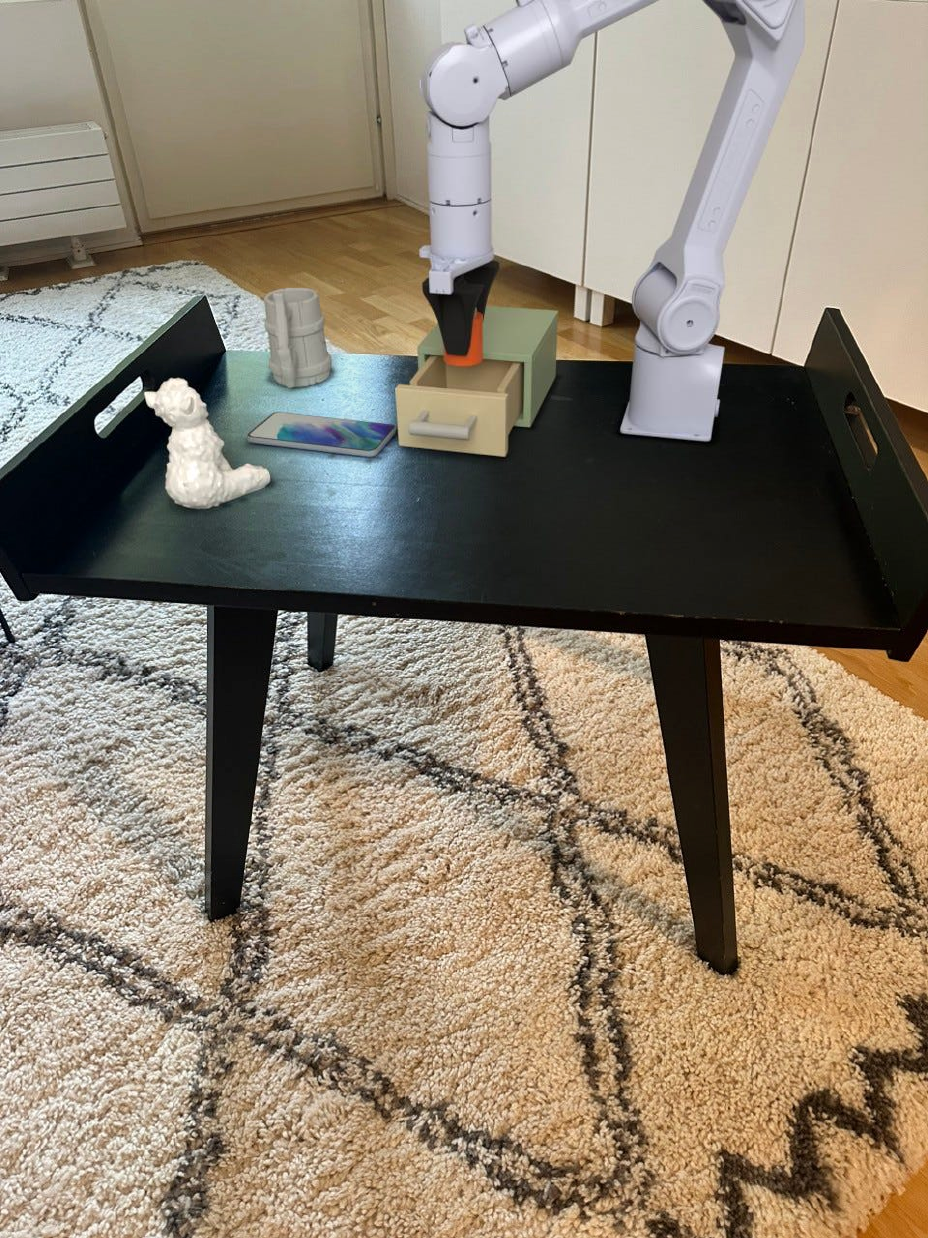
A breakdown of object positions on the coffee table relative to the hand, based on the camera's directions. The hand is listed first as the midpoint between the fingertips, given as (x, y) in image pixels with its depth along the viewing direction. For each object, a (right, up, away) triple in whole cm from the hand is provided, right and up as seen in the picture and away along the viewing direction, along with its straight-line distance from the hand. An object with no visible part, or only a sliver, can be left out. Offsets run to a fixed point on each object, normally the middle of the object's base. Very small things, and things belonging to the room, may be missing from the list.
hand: (463, 345), depth 90 cm
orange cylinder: (0, -1, +1) cm, 1 cm away
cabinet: (+3, -1, +15) cm, 16 cm away
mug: (-20, +1, +20) cm, 28 cm away
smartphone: (-15, -8, +7) cm, 19 cm away
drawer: (0, -8, +6) cm, 9 cm away
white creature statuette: (-25, -15, -2) cm, 29 cm away
